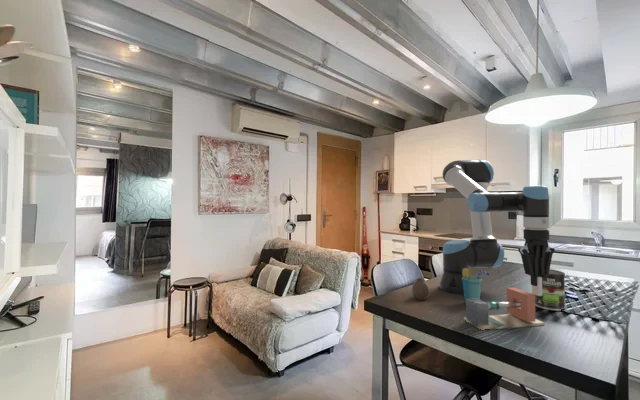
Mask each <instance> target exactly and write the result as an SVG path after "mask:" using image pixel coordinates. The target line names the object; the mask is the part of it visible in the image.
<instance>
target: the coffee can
mask: <svg viewBox="0 0 640 400" xmlns="http://www.w3.org/2000/svg"><path fill="white" fill-rule="evenodd" d="M565 289H566V288H565V272H563V271H561V270H560V271H559V270H556V269H550V270H549V274H548V275H546V277H543V286H542V296H537V295H535V294H534V295H535V307H537V308H540V309H543V310H548V311H556V312H557V311H559V312H561V309H563V308H564V307H565V306H566V304H565V303H566V301H565V297H566V296H565ZM565 308H566V307H565Z"/></svg>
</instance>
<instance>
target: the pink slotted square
mask: <svg viewBox="0 0 640 400" xmlns="http://www.w3.org/2000/svg"><path fill="white" fill-rule="evenodd" d="M511 301H521V307H513V308H506V312H507V313H506V314H512V315H514V316H516V317H518V318H520V319H522V320H525V321H527V322H534V321H535V319H536V306H535V295H534V294H532V292H531V293H530V292H528V291H525V290H522V289H519V288H516V287H506V302H511Z"/></svg>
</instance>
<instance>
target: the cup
mask: <svg viewBox="0 0 640 400" xmlns="http://www.w3.org/2000/svg"><path fill="white" fill-rule="evenodd" d="M470 273H471V272H470ZM470 273H469V270H468V269H467V268H464V269H463V270H462V274H463V277H462V280H463V289H464V294H463V295H464V304H466V299H469V298H477V299H479V300H481V294H482V293H481V291H482V282H483V278H482V277H481V274H482V273H483V274H484V275H486V276H489V275H490V273H488V271H485V270H482V269H481V270H480V271H478V273H477V276H472V275H471V274H470ZM480 277H481V278H480Z"/></svg>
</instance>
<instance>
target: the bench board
mask: <svg viewBox="0 0 640 400" xmlns="http://www.w3.org/2000/svg"><path fill="white" fill-rule="evenodd" d="M488 317H489V325H483V326H477V325H476V327H475V325H474V323H473V324H471V325H472V326H473V325H474V326H473V327H475V328H477V327H478V328H479V329H478V328H477V329H478V330H480V329H481V330H480V331H486V330H485V329H490V330H497V329H498V330H500V329H513V328H524V327H535V326H538V327H539V326H545V322H544V321H541V320H539V319H537V318H535V321H534V322H527V321H525V320H522V319H520V318H518V317H516V316H514V315H512V314H510V313H506V314H492V315H490V314H489V315H488ZM465 320H466V321H465ZM463 321H465V322H467V323H468V322H469V320H467V319H466V316H464V317H463ZM470 323H472V322H469V323H468V324H470Z"/></svg>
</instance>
